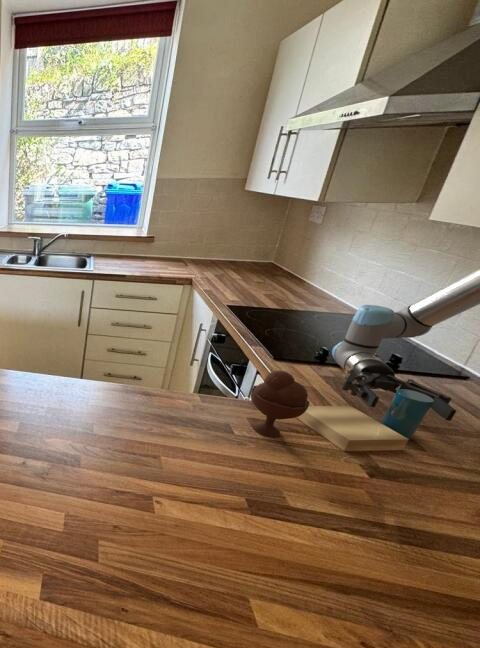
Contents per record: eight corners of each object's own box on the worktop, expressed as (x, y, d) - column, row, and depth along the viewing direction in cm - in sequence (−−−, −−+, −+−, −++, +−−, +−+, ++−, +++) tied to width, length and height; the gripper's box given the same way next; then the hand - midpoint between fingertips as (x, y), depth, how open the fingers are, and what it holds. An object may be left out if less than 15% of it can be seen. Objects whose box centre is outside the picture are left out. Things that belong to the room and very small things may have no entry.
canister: (420, 438, 94) (441, 402, 90) (396, 439, 93) (417, 402, 89) (393, 424, 99) (413, 388, 95) (371, 424, 99) (389, 389, 95)
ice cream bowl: (235, 431, 95) (255, 374, 89) (245, 412, 102) (264, 359, 96) (290, 451, 88) (316, 391, 82) (296, 430, 96) (320, 374, 90)
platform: (402, 450, 90) (409, 439, 88) (344, 451, 89) (349, 440, 87) (345, 415, 102) (350, 405, 101) (293, 416, 101) (297, 406, 100)
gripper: (421, 392, 108) (476, 435, 90) (309, 374, 116) (338, 410, 98) (435, 367, 105) (495, 406, 87) (319, 350, 113) (351, 383, 95)
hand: (412, 408), depth 92 cm, fingers open, 13 cm apart
